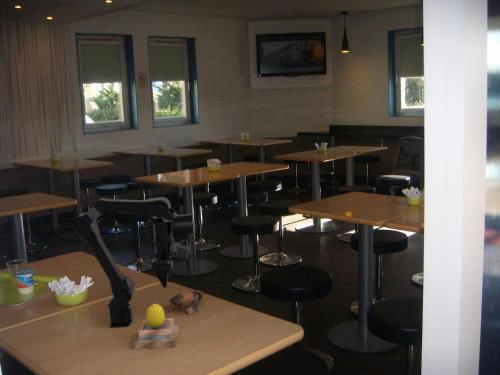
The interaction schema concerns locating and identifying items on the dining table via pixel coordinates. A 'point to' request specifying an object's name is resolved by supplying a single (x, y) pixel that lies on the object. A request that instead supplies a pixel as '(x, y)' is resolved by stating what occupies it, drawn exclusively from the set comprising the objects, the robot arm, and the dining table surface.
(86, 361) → the dining table surface
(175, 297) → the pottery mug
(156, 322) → the lemon
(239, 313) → the dining table surface
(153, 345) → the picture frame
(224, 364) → the dining table surface
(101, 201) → the robot arm
